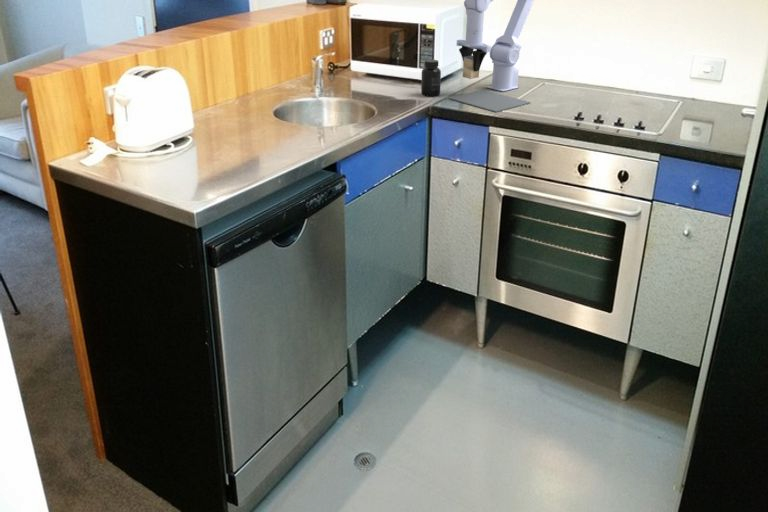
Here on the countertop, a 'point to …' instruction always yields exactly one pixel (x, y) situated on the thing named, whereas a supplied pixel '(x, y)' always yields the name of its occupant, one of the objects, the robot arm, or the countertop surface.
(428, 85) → the supplement bottle
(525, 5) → the robot arm
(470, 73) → the beech block
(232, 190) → the countertop surface
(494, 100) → the rubber mat
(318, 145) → the countertop surface
